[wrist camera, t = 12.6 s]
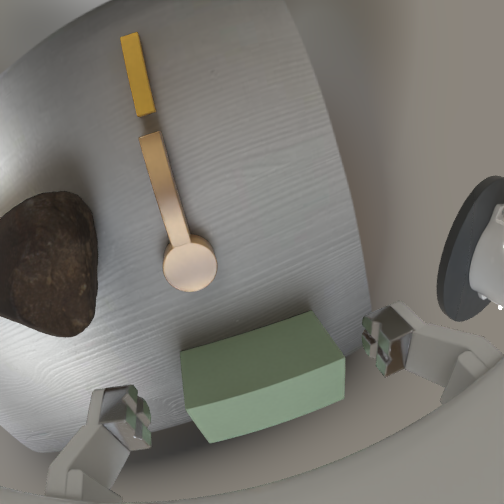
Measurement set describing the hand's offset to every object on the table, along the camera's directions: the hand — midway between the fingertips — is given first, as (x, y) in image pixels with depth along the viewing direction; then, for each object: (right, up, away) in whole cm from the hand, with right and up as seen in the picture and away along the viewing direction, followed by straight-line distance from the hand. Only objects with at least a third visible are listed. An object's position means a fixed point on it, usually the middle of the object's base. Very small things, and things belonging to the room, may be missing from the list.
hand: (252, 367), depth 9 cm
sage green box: (0, -8, +23) cm, 25 cm away
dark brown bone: (-26, +3, +12) cm, 29 cm away
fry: (-9, +18, +10) cm, 22 cm away
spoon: (-7, +7, +15) cm, 18 cm away
